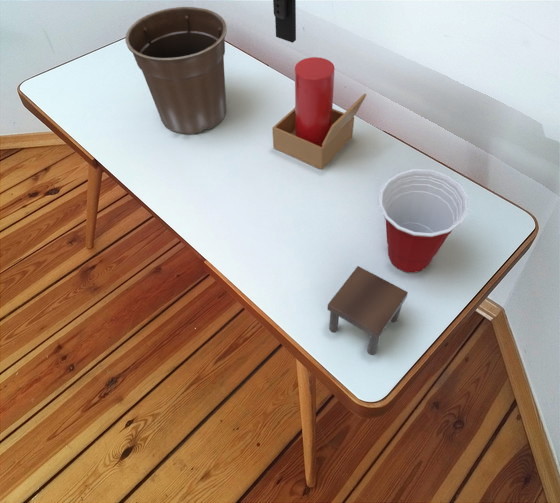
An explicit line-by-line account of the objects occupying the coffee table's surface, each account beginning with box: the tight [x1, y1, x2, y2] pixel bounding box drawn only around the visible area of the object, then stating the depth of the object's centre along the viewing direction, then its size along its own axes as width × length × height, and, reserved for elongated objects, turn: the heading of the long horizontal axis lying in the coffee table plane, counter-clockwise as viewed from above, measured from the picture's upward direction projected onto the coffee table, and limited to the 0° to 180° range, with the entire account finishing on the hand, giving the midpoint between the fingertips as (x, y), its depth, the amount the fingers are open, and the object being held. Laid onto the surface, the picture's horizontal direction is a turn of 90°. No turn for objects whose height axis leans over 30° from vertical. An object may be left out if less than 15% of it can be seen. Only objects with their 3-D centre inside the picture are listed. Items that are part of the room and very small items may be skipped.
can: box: [294, 56, 335, 147], centre depth 83 cm, size 6×6×14 cm
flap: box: [322, 92, 367, 146], centre depth 81 cm, size 5×10×1 cm
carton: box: [272, 107, 355, 171], centre depth 87 cm, size 10×10×4 cm
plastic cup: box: [378, 168, 469, 274], centre depth 68 cm, size 11×11×12 cm
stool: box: [327, 265, 409, 356], centre depth 64 cm, size 7×7×6 cm
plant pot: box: [124, 6, 228, 135], centre depth 89 cm, size 16×16×16 cm
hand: (314, 16), depth 71 cm, fingers open, 13 cm apart
